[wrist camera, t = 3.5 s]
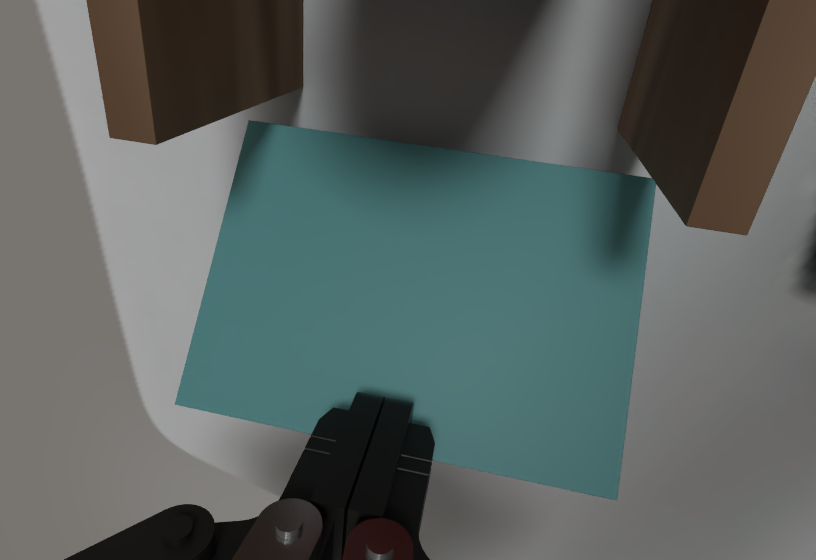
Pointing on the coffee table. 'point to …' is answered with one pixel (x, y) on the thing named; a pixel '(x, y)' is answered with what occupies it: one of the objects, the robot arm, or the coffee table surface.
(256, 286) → the flat panel
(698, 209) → the frame
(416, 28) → the coffee table surface
